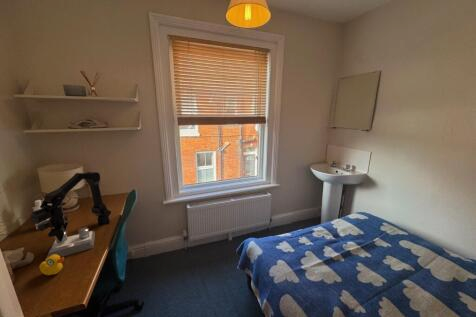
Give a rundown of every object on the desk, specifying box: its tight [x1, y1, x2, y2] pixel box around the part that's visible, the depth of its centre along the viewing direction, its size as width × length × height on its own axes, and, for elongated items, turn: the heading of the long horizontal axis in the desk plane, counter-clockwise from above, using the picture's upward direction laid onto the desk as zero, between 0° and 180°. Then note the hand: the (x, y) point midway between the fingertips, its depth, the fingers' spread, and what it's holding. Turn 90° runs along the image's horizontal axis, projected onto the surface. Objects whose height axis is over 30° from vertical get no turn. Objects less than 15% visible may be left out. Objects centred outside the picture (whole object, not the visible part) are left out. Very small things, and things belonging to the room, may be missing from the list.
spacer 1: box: [54, 230, 68, 243], centre depth 116 cm, size 5×5×5 cm
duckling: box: [39, 254, 65, 276], centre depth 97 cm, size 11×5×10 cm, turn 93°
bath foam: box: [32, 199, 50, 231], centre depth 136 cm, size 7×7×20 cm
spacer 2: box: [77, 227, 90, 240], centre depth 122 cm, size 5×5×5 cm
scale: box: [46, 230, 96, 258], centre depth 118 cm, size 20×16×5 cm
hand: (61, 238), depth 116 cm, fingers closed on spacer 1, 5 cm apart
